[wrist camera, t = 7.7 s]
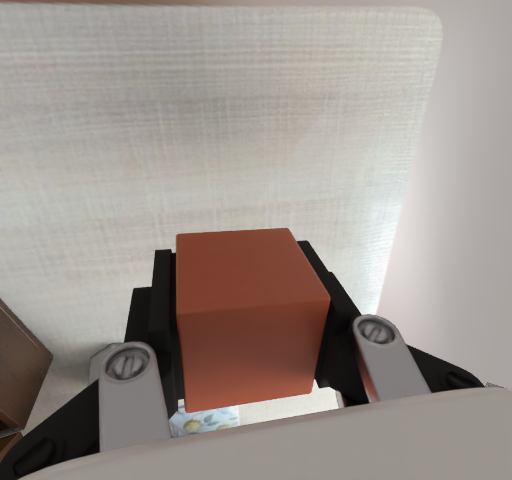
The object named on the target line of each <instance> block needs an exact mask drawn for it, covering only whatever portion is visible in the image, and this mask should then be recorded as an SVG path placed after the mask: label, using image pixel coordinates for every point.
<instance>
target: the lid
mask: <svg viewBox="0 0 512 480" xmlns="http://www.w3.org/2000/svg"><path fill="white" fill-rule="evenodd" d="M21 438H23V435H22V433H21V432H20V431H19V432H17V433H14V434H11V435H8V436H5V437H2V438H0V463H1V461H2V459H3V458H4V456H5V455H6V453H7V452H8V451H9V449H10V448H11V447H12V446H14V445H15V444H16V443H17V442H18V441H19V440H20V439H21Z"/></svg>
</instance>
